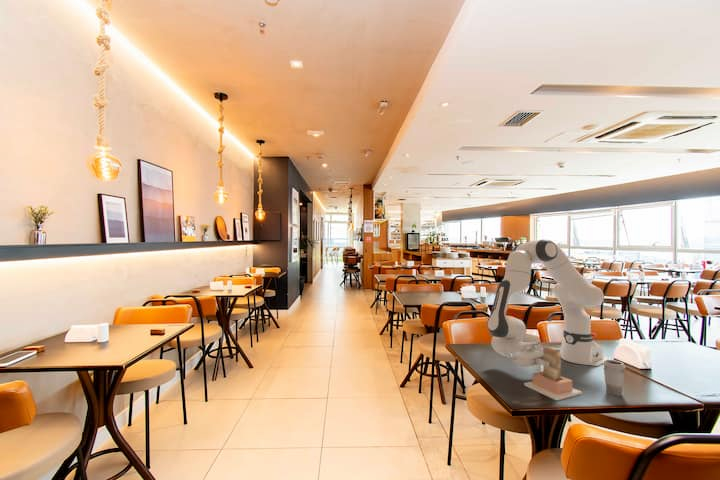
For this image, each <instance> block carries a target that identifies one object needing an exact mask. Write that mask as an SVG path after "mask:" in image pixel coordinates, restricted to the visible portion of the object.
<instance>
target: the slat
mask: <svg viewBox="0 0 720 480" xmlns="http://www.w3.org/2000/svg"><path fill="white" fill-rule="evenodd" d="M542 347H543V360H545V361H550V362H551V366H545V365H542V366H543V371H542V372H543V376H545V377H547V378H549V379H552V380H554V381H559V380H560V376H561V355H560V352H561V348H557V347H554V346H552V345H545V346H542Z"/></svg>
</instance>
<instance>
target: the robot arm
mask: <svg viewBox="0 0 720 480" xmlns="http://www.w3.org/2000/svg"><path fill="white" fill-rule="evenodd" d="M539 263H542V264H543V266H544V268H545V269H546V271H547V272H548V273H549V275H550V277H551V278H552V279H553V281H554V282H556V284H554V286H553V290H552V293H553V295H554V297H555V298H556V299H557V300H558V302H559V305H560V306H561V309H562V314H563V320H564V325H563V327H564V328H563V332H562V333H563V335H562V336H563V339H561V348H560V359H562V360H564V361H566V362H570V363H573V364H579V365H585V366H587V365H588V366H594V367H598V366H600V365H603V364H602V363H603V362H604V360H610V359H609V357H606V356H604V355H603V353H604V352H603V348H602V347H601V346H600V345H599V344H598V343H596V342H595V341H594V338H596V337H597V333H594V332H592V331H591V326H592V325H591V324H592V322H591V321H592V320H591V317H590V315H589V314H588V313H587V312H586V310H585V308H584V307H587V308H588V307H594V308H595V307H599V306H601V305H602V304H603V302H604V297H605V296H604V292H603V290H602V289H601V288H600V287H598V286H596V285H595V284H593V283H592V282H590V281H589V280H588V279H587V278H586V277H584V275H583V274H581V273H580V272H579V271H578V270H577V269H576V267H575V265H574V264H573V263H572V262H571V260H570V259H569V257H568V256H567V254H566V253H565V252H564V251H563V249H562V248H561V247H560V245H558V244H556V243H555V242H554V241H552V240H550V239H537V240H536V239H535V240H529V241H527V242H523V243H518V244H516V245H515V246H514V247H513V249H512V251H511V252H510V253H509V255H508V258H507V261H506V265H505V272H504V276H503V279H502V280H501V281H500V282H499V284H498V286H497V288H496V292H495V296H494V301H493V304H492V308H491V311H490V314H489V317H488V319H487V321H486V327H487V330H488V332H489V334H490V335H491V336H492V338H491V343H490V344H491V346H492V349H493V350H494V351H495V352H496V353H498V354H500V355H501V356H503V357H505V358H508V359H511V360H513V362H514V363H516V364H517V365H520V366H522V367H531V366H532V367H533V366H538V365H539V366H543V365H545V366H551V362H550V361H545V360H543V346H542V345H541V344H540V343H532V342H530V343H529V342H526V341H525V338H526V334H527V327H526V324H525V322H524V321H523V320H522V319H519V318H515V317H510V316H507V310H508V305H509V300H510V297H511V296H512V295H515V294H517V293H521V292H523V291H525V290H527V289H528V287H529V286H530V283H531V276H532V264H533V265H534V264H539Z"/></svg>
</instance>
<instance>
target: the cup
mask: <svg viewBox="0 0 720 480" xmlns="http://www.w3.org/2000/svg"><path fill="white" fill-rule="evenodd" d="M601 365H603V374H604V383H605V388H606V389H605V390H606V393H608V394H609V395H611V396H612V395H613V396H616V397H619V396H620V397H621V396H622V394H623V386H624V380H625V378H624V377H625V371H624V370H625V369H626V365H624V362H622V361H618V360H615V359H609V360H604V362H603V363H602V364H601Z"/></svg>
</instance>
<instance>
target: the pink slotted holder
mask: <svg viewBox="0 0 720 480" xmlns="http://www.w3.org/2000/svg"><path fill="white" fill-rule="evenodd" d="M523 384H524V386H525V387H527V388H529V389H531V390H533V391H536V392H537V393H540V394H542V395H544V396H545V397H548V398H551V399H552V400H555V401H561V400H564V399H567V398H573V397H576V396H581V395H582V394H583V393H582V391H581V390H579V389H577V388H573V379H570V378H567V377H564V376H561V375H560V380H559V381H554V380H552V379H549V378H547V377H545V376H543V371H539V372H534V373H532V381H528V382H524V383H523Z"/></svg>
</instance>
